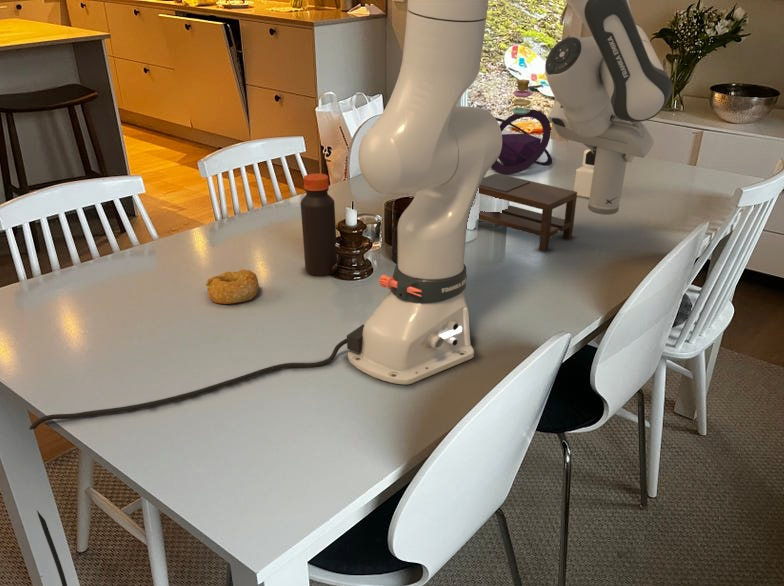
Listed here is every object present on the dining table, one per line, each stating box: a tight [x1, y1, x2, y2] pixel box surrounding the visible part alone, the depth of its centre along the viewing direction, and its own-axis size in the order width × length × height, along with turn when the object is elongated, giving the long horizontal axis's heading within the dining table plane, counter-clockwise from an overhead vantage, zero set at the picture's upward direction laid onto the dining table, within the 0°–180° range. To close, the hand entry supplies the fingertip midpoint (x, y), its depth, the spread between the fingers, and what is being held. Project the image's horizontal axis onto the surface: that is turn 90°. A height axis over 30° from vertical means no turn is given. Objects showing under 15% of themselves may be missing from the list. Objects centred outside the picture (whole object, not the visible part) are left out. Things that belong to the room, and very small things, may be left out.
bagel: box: [205, 269, 259, 305], centre depth 145 cm, size 10×11×5 cm
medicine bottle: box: [573, 148, 596, 199], centre depth 200 cm, size 7×7×12 cm
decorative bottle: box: [490, 78, 553, 175], centre depth 220 cm, size 22×21×25 cm
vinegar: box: [300, 172, 338, 277], centre depth 153 cm, size 7×7×20 cm
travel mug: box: [587, 147, 628, 216], centre depth 151 cm, size 6×7×20 cm
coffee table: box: [478, 172, 578, 253], centre depth 174 cm, size 12×22×11 cm, turn 50°
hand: (613, 155), depth 151 cm, fingers closed on travel mug, 6 cm apart
